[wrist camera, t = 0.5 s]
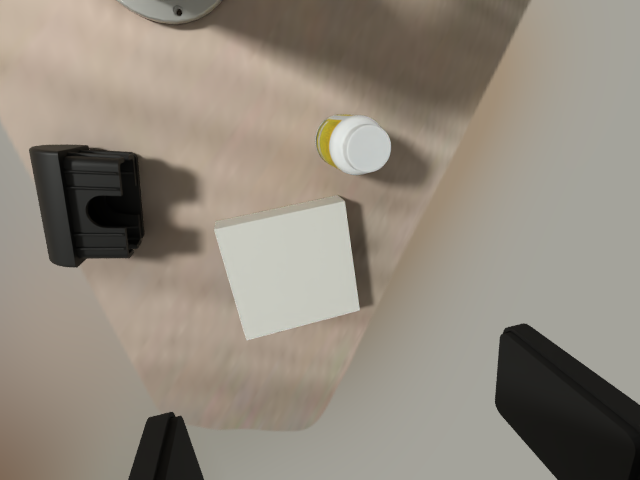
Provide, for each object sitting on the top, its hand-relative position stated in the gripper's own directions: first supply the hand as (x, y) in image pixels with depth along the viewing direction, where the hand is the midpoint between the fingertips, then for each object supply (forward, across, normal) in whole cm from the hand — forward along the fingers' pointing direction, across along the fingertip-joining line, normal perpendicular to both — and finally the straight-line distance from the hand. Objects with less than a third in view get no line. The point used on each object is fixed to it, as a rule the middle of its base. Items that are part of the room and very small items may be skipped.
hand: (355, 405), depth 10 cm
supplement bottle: (+31, -8, -4) cm, 33 cm away
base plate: (+31, -1, +9) cm, 32 cm away
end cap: (+31, +17, -2) cm, 36 cm away
